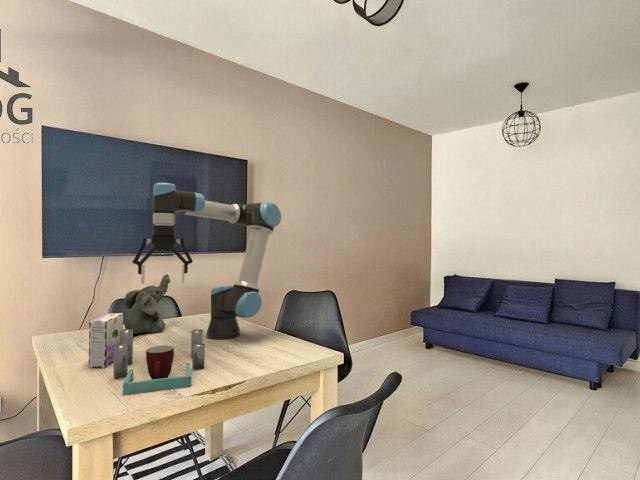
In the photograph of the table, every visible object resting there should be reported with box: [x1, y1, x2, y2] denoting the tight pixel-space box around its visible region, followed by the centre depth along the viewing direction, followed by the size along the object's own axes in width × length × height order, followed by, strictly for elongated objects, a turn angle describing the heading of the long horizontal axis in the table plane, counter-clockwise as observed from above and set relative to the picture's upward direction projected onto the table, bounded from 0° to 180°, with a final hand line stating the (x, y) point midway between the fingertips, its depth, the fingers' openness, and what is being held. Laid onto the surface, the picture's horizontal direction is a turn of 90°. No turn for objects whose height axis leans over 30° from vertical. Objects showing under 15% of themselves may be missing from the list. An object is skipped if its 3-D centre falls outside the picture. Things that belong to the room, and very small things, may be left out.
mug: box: [145, 344, 175, 380], centre depth 113 cm, size 10×8×10 cm
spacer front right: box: [113, 344, 129, 380], centre depth 118 cm, size 4×4×10 cm
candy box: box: [88, 312, 124, 369], centre depth 132 cm, size 14×6×16 cm, turn 5°
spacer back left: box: [190, 328, 204, 358], centre depth 139 cm, size 4×4×10 cm
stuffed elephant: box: [123, 273, 171, 335], centre depth 177 cm, size 19×21×27 cm
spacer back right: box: [120, 328, 134, 366], centre depth 130 cm, size 4×4×12 cm
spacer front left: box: [191, 342, 206, 371], centre depth 126 cm, size 4×4×8 cm
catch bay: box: [122, 362, 192, 396], centre depth 113 cm, size 18×13×3 cm
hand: (163, 282), depth 133 cm, fingers open, 13 cm apart
